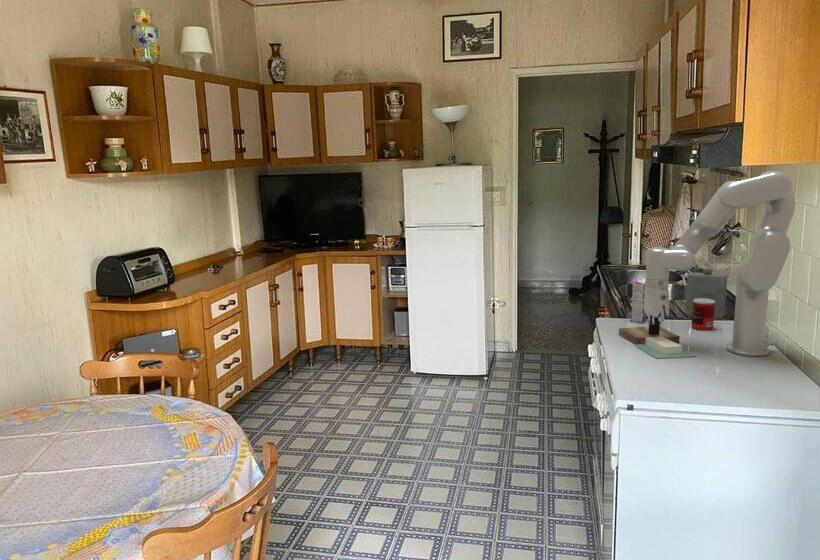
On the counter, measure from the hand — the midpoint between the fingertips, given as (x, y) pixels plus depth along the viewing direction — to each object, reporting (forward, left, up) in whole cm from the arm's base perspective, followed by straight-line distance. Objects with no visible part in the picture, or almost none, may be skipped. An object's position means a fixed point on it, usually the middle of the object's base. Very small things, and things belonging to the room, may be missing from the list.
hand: (653, 334), depth 222 cm
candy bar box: (-12, -35, -4) cm, 37 cm away
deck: (-2, -8, -4) cm, 9 cm away
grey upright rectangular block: (-41, -36, -4) cm, 54 cm away
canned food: (-29, -18, -4) cm, 34 cm away
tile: (0, +6, -3) cm, 7 cm away
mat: (0, +7, -4) cm, 8 cm away
